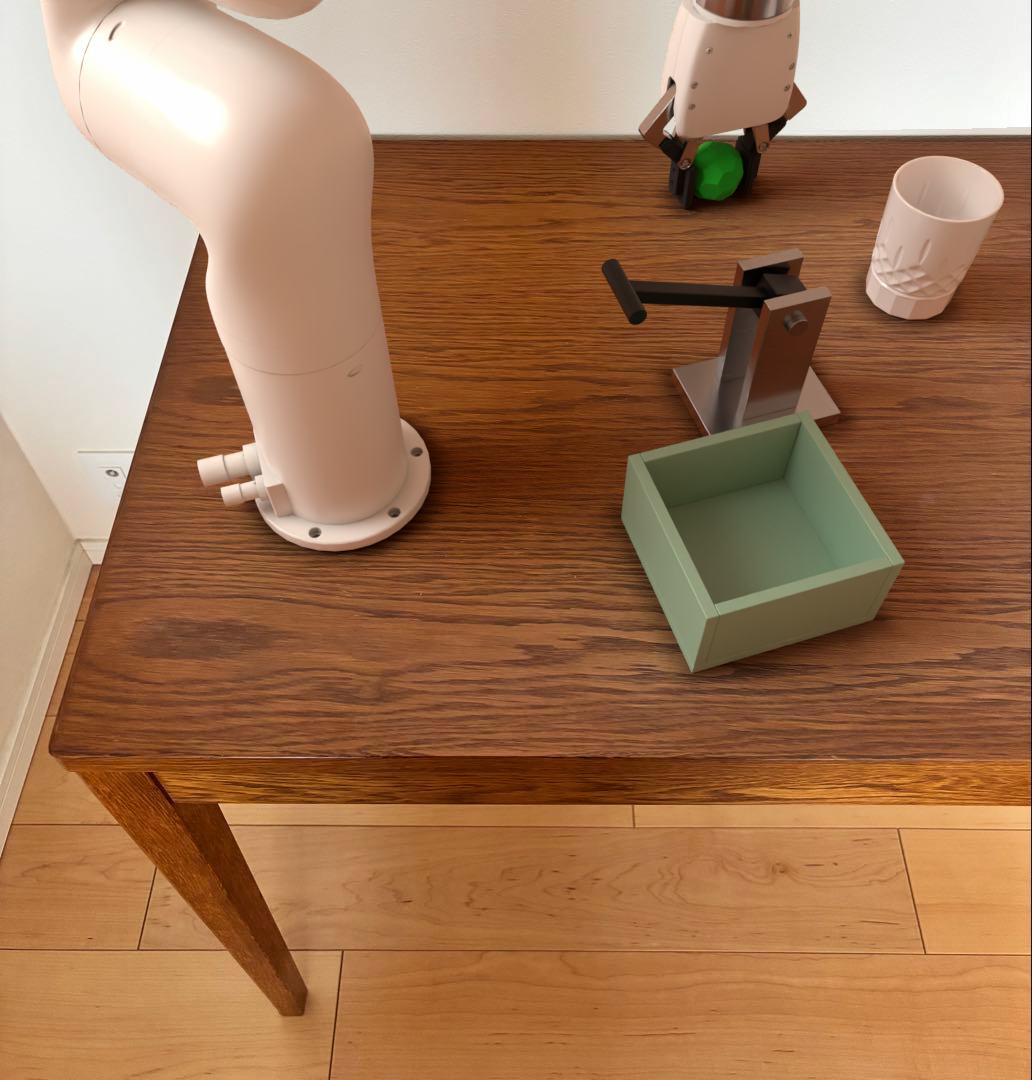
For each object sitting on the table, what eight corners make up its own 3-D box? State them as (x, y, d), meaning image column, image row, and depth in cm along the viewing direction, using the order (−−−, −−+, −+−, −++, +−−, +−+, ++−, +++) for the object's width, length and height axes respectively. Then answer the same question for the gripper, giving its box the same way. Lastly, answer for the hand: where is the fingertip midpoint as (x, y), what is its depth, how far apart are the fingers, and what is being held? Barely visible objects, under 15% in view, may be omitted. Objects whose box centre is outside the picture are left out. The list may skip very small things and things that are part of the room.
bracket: (712, 455, 71) (739, 335, 62) (670, 379, 76) (689, 255, 66) (837, 423, 73) (883, 300, 63) (789, 350, 77) (825, 225, 68)
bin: (691, 673, 61) (706, 619, 56) (620, 518, 68) (627, 455, 63) (873, 620, 63) (905, 562, 58) (786, 474, 70) (807, 409, 65)
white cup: (958, 331, 78) (1008, 227, 70) (856, 319, 79) (894, 215, 71) (954, 266, 82) (1000, 161, 74) (857, 255, 83) (892, 150, 75)
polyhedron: (678, 207, 87) (685, 160, 84) (686, 174, 90) (692, 127, 86) (735, 215, 87) (744, 167, 83) (741, 181, 89) (750, 133, 86)
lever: (622, 332, 60) (637, 301, 59) (595, 280, 63) (608, 249, 61) (803, 338, 66) (821, 309, 64) (771, 290, 69) (787, 261, 67)
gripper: (825, -59, 77) (779, 150, 92) (620, -22, 74) (606, 186, 89) (873, -13, 73) (816, 198, 88) (657, 27, 70) (636, 237, 85)
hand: (710, 190), depth 88 cm, fingers closed on polyhedron, 5 cm apart
